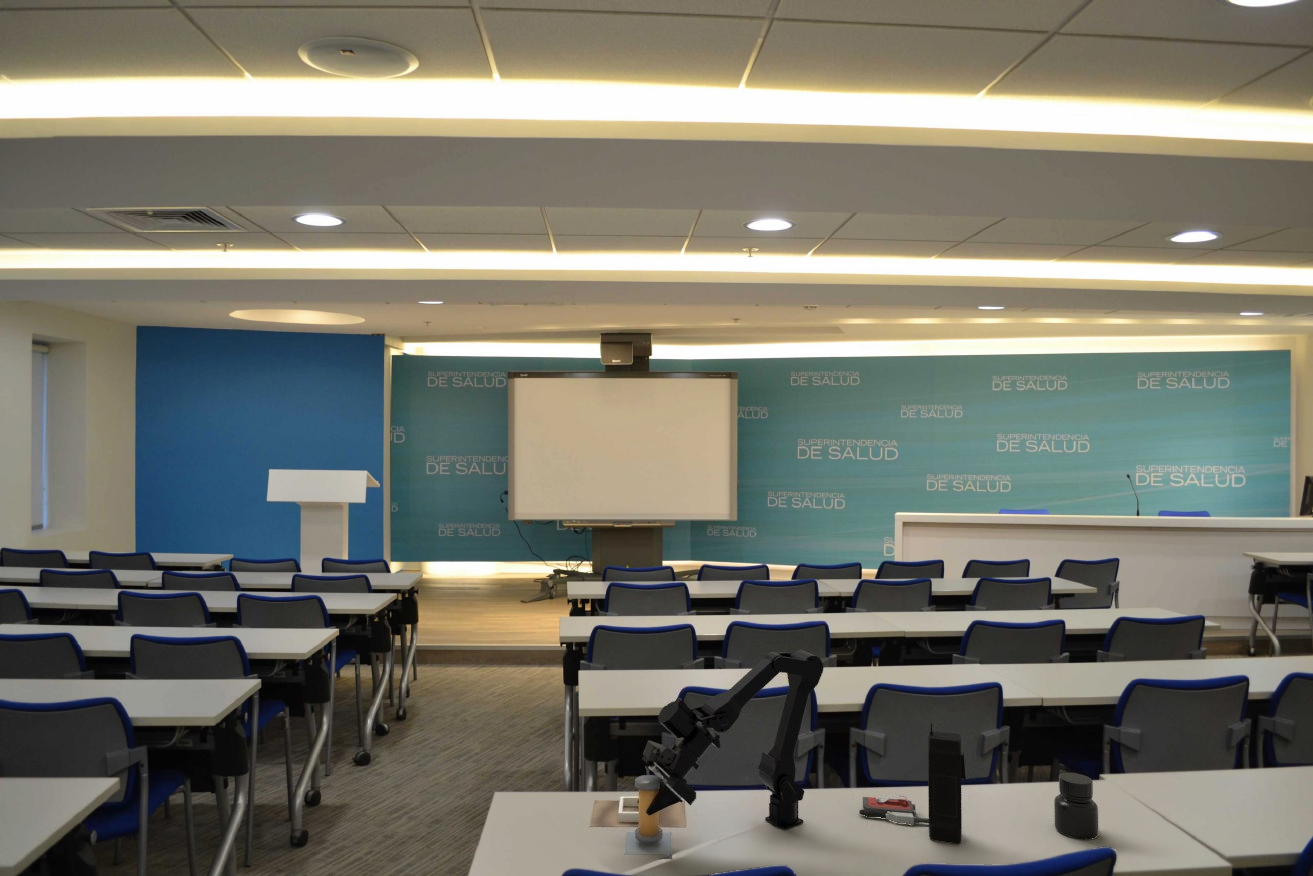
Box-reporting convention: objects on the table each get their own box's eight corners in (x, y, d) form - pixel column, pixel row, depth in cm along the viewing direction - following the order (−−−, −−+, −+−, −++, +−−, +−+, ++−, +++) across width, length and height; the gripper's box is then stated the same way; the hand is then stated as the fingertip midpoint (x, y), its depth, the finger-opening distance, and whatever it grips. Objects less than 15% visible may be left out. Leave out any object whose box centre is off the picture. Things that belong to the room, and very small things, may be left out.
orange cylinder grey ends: (643, 827, 177) (643, 773, 178) (667, 833, 175) (667, 778, 175) (629, 839, 172) (629, 782, 173) (654, 845, 169) (654, 788, 170)
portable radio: (965, 833, 180) (964, 722, 181) (966, 845, 175) (965, 730, 175) (928, 828, 183) (928, 718, 184) (928, 840, 177) (927, 726, 178)
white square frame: (658, 805, 193) (658, 796, 193) (658, 822, 183) (658, 813, 183) (620, 804, 193) (620, 796, 193) (618, 822, 183) (618, 813, 183)
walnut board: (684, 805, 195) (684, 800, 195) (686, 831, 181) (686, 827, 181) (594, 804, 195) (594, 800, 195) (589, 831, 181) (589, 826, 181)
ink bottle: (1099, 827, 184) (1098, 775, 184) (1102, 844, 176) (1101, 789, 176) (1051, 819, 188) (1051, 768, 188) (1053, 835, 180) (1052, 781, 180)
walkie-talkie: (859, 823, 186) (949, 830, 183) (859, 803, 187) (949, 811, 183) (857, 807, 195) (943, 814, 191) (857, 788, 195) (943, 795, 191)
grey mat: (671, 836, 178) (671, 832, 178) (671, 859, 168) (671, 854, 168) (626, 836, 178) (626, 832, 178) (624, 859, 168) (624, 854, 168)
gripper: (650, 715, 184) (604, 770, 180) (682, 742, 167) (633, 804, 162) (681, 745, 187) (637, 800, 183) (716, 774, 170) (668, 836, 165)
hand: (643, 809), depth 173 cm, fingers closed on orange cylinder grey ends, 5 cm apart
